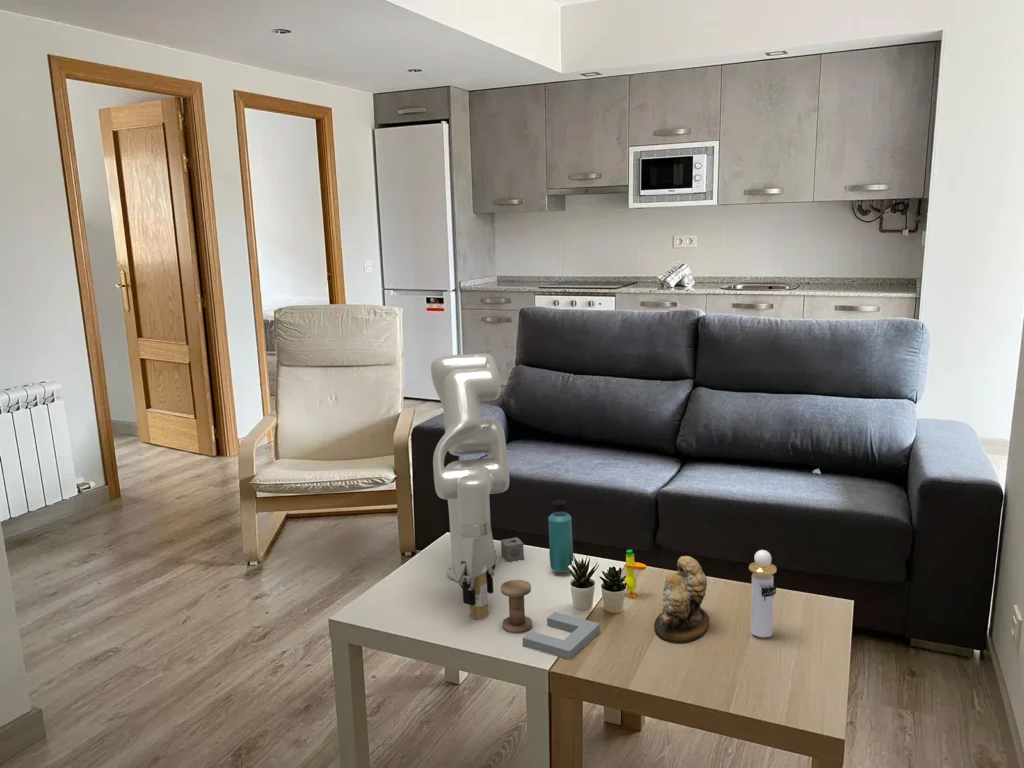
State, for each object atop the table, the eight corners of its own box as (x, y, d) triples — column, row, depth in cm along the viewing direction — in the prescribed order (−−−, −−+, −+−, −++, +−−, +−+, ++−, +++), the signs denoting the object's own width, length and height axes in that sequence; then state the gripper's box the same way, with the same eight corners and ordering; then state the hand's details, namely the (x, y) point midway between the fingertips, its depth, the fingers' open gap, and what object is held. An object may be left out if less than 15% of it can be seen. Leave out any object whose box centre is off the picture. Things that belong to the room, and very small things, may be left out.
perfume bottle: (742, 633, 177) (743, 549, 173) (761, 626, 180) (763, 543, 176) (761, 644, 172) (762, 557, 168) (780, 637, 175) (782, 552, 171)
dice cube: (524, 560, 223) (523, 543, 222) (507, 563, 221) (506, 546, 220) (518, 553, 227) (517, 537, 226) (501, 556, 226) (500, 540, 225)
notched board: (554, 619, 187) (554, 611, 187) (600, 631, 180) (599, 623, 180) (522, 645, 176) (522, 637, 175) (569, 659, 169) (569, 651, 169)
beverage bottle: (572, 577, 209) (570, 506, 206) (547, 576, 211) (545, 505, 207) (575, 567, 216) (573, 497, 212) (551, 566, 217) (549, 497, 213)
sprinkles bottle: (466, 616, 190) (463, 564, 188) (479, 609, 194) (476, 557, 191) (480, 621, 188) (477, 568, 185) (492, 614, 191) (490, 562, 189)
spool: (513, 616, 189) (511, 577, 188) (538, 623, 186) (536, 583, 184) (496, 629, 184) (494, 588, 182) (522, 636, 180) (520, 595, 178)
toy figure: (648, 595, 197) (648, 550, 195) (644, 601, 194) (643, 555, 192) (623, 591, 200) (622, 546, 198) (618, 597, 197) (617, 551, 195)
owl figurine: (668, 604, 192) (668, 538, 189) (716, 613, 187) (717, 545, 184) (645, 638, 177) (645, 566, 174) (698, 649, 171) (699, 575, 168)
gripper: (483, 513, 196) (486, 581, 199) (439, 536, 182) (443, 609, 185) (508, 518, 192) (511, 587, 195) (465, 542, 178) (469, 616, 181)
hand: (478, 597), depth 190 cm, fingers open, 6 cm apart
